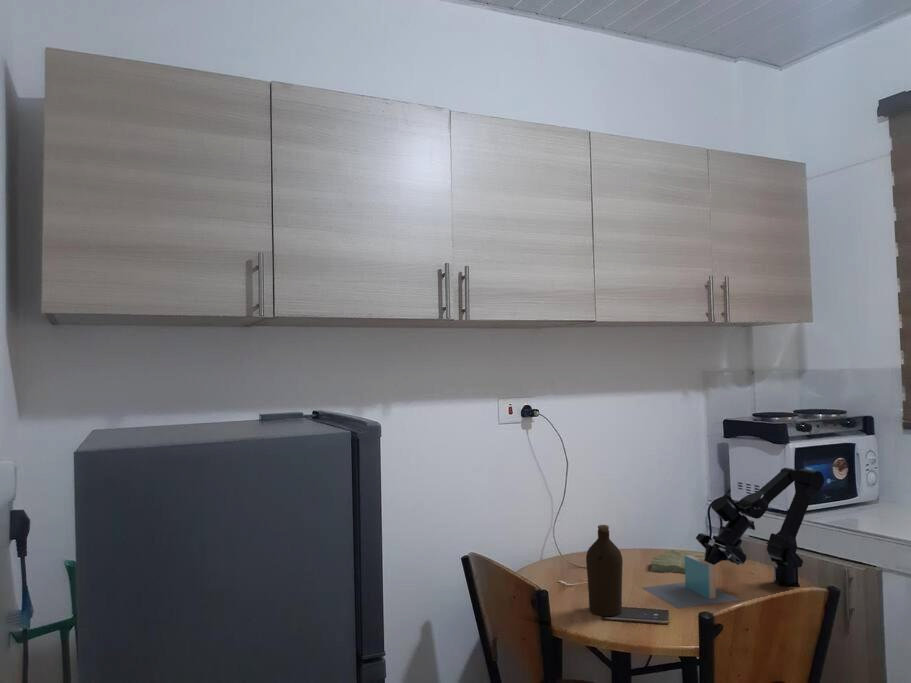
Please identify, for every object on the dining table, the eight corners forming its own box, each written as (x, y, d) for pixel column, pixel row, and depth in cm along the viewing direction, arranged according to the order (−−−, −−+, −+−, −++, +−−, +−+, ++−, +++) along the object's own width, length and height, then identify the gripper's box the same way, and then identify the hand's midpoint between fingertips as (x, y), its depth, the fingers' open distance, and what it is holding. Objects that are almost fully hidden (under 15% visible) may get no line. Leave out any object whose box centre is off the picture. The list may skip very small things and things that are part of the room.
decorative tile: (712, 563, 249) (712, 553, 250) (704, 578, 232) (704, 568, 232) (660, 557, 258) (660, 547, 258) (648, 571, 240) (648, 561, 241)
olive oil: (629, 616, 197) (626, 529, 198) (593, 618, 196) (591, 531, 197) (616, 603, 208) (614, 521, 209) (582, 605, 207) (580, 522, 208)
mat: (700, 582, 227) (700, 580, 227) (740, 602, 207) (740, 600, 207) (641, 589, 221) (641, 587, 221) (677, 610, 201) (677, 608, 201)
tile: (691, 586, 221) (691, 554, 222) (715, 597, 210) (714, 565, 210) (685, 586, 220) (684, 555, 221) (708, 598, 209) (707, 565, 209)
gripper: (769, 554, 212) (740, 594, 208) (729, 540, 230) (702, 576, 226) (747, 531, 210) (717, 570, 206) (709, 518, 228) (681, 554, 224)
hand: (704, 568), depth 216 cm, fingers closed
